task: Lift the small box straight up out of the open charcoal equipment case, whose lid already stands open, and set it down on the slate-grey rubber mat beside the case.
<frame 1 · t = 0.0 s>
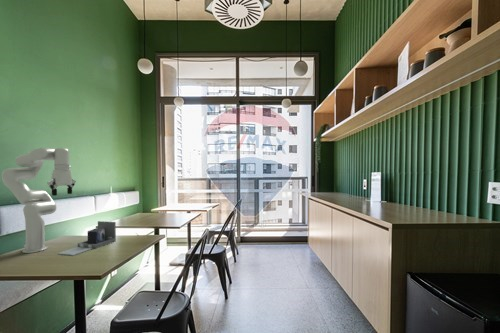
hand: (62, 194, 157), 37 cm above the table, tool pointing down, fingers open, 9 cm apart
small box: (96, 244, 173), resting in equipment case
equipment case: (96, 244, 173), on the table
rubber mat: (75, 251, 158), on the table
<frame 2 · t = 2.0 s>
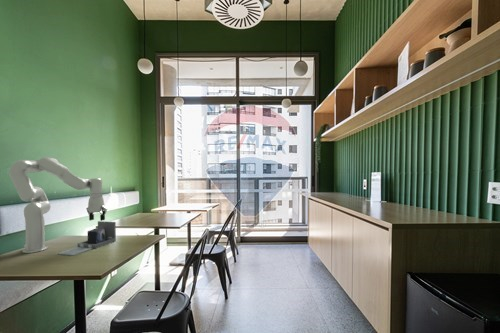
hand: (97, 220, 173), 17 cm above the table, tool pointing down, fingers open, 9 cm apart
nothing on the table moved.
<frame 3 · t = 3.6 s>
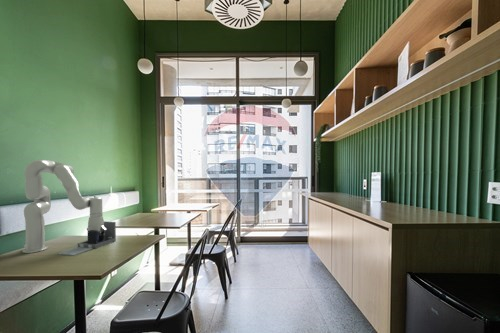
hand: (96, 240, 173), 3 cm above the table, tool pointing down, fingers closed on small box, 7 cm apart
small box: (96, 244, 173), resting in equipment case, touching gripper
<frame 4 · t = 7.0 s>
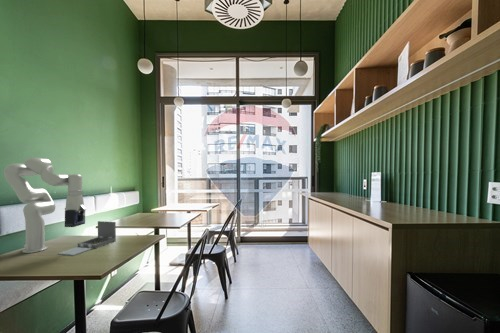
hand: (75, 220, 158), 20 cm above the table, tool pointing down, fingers closed on small box, 7 cm apart
small box: (75, 225, 158), point 16 cm above the table, touching gripper
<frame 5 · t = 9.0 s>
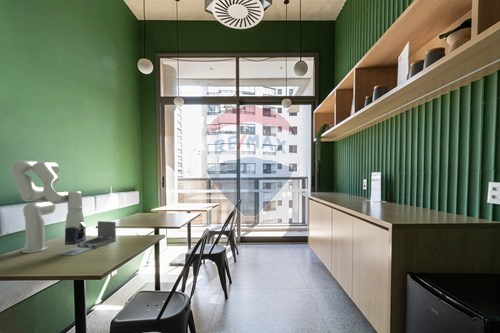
hand: (75, 238, 158), 9 cm above the table, tool pointing down, fingers closed on small box, 7 cm apart
small box: (75, 243, 158), point 5 cm above the table, touching gripper
when the fingers open (4 cm above the table, at t = 10.5 s): small box stays where it is, resting on rubber mat.
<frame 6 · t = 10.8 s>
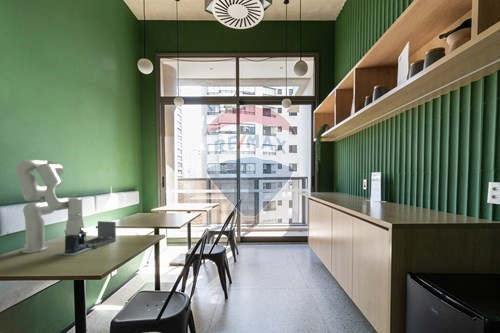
hand: (75, 243, 158), 5 cm above the table, tool pointing down, fingers open, 9 cm apart
small box: (76, 250, 158), resting on rubber mat
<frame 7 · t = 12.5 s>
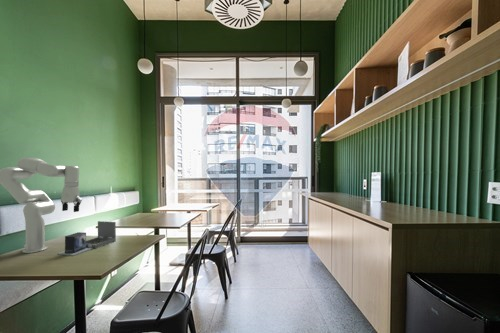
hand: (70, 211, 160), 26 cm above the table, tool pointing down, fingers open, 9 cm apart
nothing on the table moved.
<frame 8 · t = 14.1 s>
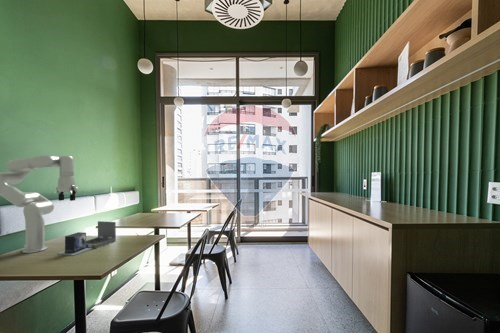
hand: (67, 200, 164), 32 cm above the table, tool pointing down, fingers open, 9 cm apart
nothing on the table moved.
at the end: small box 0.3 cm off-centre on the rubber mat, point 0.4 cm above the rubber mat's base; small box tilted 0°; the gripper is holding nothing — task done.
